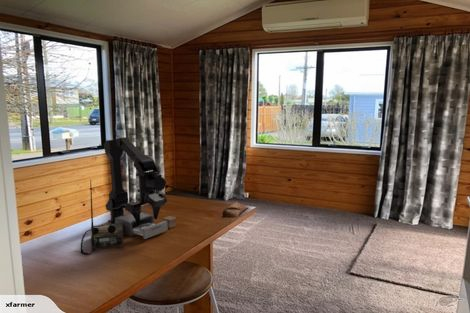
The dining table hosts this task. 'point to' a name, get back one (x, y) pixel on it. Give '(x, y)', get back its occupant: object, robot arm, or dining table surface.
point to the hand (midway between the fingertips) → (147, 221)
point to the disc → (145, 226)
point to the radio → (104, 234)
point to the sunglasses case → (234, 210)
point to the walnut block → (170, 221)
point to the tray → (151, 230)
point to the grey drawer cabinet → (133, 222)
